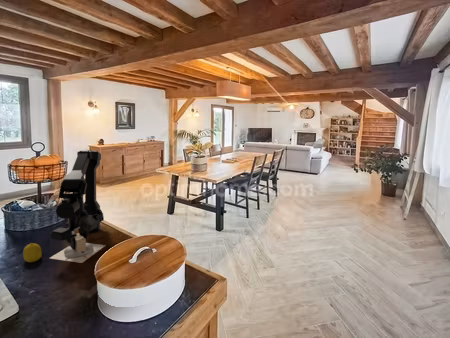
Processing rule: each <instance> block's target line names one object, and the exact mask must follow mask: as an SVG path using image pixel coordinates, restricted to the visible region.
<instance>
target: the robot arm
mask: <svg viewBox="0 0 450 338" xmlns="http://www.w3.org/2000/svg"><path fill="white" fill-rule="evenodd" d="M76 155H77V157H76V159H75V161H74V164H73V166H72V169H71V171H70V172H69V173H67V174H66V175H65V176H64V177H63V180H62V181H61V183H60V187H59V193H58V199H62V200H61V203H60V204H58V205H57V206H56V209H55V214H56V215H57V217H59V218H60V219H63V220H67V222H65V226H67V228H66V227H65V228H64V227H58V228H56V229H53V230H52V231H50V235H49V236H50V239H52V240H56V241H57V240H58V241H66V243H67V244H68V245H69V246H70V247H71V248H72V249H73V250H75V249H76V242H75V237H76V236H77V235H78V234H77V233H75V231H77V230H78V233H79V234H80V235H82V236H83V237H84V238H85V239H86V240H87V239H88V235H90V234H94V233H96V232H100V231H102V229H101V223H102V221H103V222H104V213H103V211H102V209H101V205H100V203H99V202H98V201H97V170H98V167H99V166H100V164H101V160H102V154H101V152H99V150H89V149H85V150H84V149H80V150H78V151H77V154H76ZM84 198H85V199H84Z"/></svg>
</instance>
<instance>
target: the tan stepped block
mask: <svg viewBox="0 0 450 338" xmlns="http://www.w3.org/2000/svg"><path fill="white" fill-rule="evenodd" d="M76 234H78V235H77V236H76V237H75V242H76V249H75V250H73V249H72V248H71V247H70V245H69V246H66V247H65V248H66V249H65V248H64V249H65V250H64V249H63V250H64V255H65V256H67V257H79V256H83V255H86V254H88V253H90V252H91V251H92V250H93V245H92V244H93V243H91V244H90V243H89V242H87V239H85V238H84V237H83V236H82V235H80V234H79V232H77V233H76Z"/></svg>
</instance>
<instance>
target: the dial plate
mask: <svg viewBox="0 0 450 338" xmlns="http://www.w3.org/2000/svg"><path fill="white" fill-rule="evenodd" d="M90 244H92V245H93V250H92V251H91V252H90V253H88V254H86V255H83V256H79V257H67V256H65V255H64V250H65V249H66V248H67V247H65V248H64V249H62V250H61V251H59V252H57V253H55V254H54V255H52V256H51V257H49V259H52V260H59V261H65V262H72V263H73V262H74V263H79V264H80V263H81V264H82V263H84V262H85V261H86V260H88V259H89V258H91V257H92V256H94V255H95V254H96V253H98V252H99V251H100V250H102V249H103V248H104V247H106V244H99V243H98V244H97V243H92V242H91V243H90Z"/></svg>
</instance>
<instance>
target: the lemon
mask: <svg viewBox="0 0 450 338" xmlns="http://www.w3.org/2000/svg"><path fill="white" fill-rule="evenodd" d="M42 251H43V250H42V248H41V246H40V245H39V244H38V243H33V242H31V243H29V244H27V245H25V247H24V248H23V251H22V257H23V260H24V261H25V262H27V263H34V262H36V261H39V260H40V258H42V254H43V253H42Z"/></svg>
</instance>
